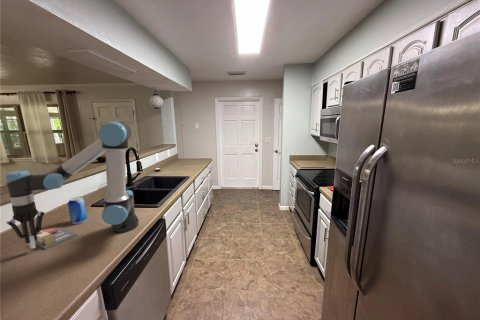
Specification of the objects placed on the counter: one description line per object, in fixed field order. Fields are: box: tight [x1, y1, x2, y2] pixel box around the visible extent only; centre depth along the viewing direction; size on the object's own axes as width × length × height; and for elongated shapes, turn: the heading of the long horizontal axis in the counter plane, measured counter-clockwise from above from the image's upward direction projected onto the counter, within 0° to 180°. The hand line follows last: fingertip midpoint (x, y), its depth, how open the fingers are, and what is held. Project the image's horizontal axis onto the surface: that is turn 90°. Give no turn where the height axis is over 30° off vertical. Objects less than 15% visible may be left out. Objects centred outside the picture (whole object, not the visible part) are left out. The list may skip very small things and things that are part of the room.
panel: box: [35, 226, 78, 250], centre depth 111 cm, size 18×14×2 cm
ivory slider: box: [36, 232, 50, 243], centre depth 107 cm, size 4×4×4 cm
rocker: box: [37, 227, 59, 235], centre depth 112 cm, size 5×8×1 cm, turn 155°
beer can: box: [67, 196, 88, 225], centre depth 128 cm, size 8×8×16 cm
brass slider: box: [41, 234, 56, 246], centre depth 105 cm, size 4×4×4 cm
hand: (32, 247), depth 99 cm, fingers closed
